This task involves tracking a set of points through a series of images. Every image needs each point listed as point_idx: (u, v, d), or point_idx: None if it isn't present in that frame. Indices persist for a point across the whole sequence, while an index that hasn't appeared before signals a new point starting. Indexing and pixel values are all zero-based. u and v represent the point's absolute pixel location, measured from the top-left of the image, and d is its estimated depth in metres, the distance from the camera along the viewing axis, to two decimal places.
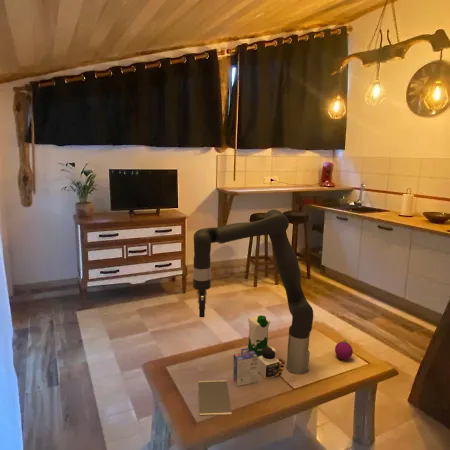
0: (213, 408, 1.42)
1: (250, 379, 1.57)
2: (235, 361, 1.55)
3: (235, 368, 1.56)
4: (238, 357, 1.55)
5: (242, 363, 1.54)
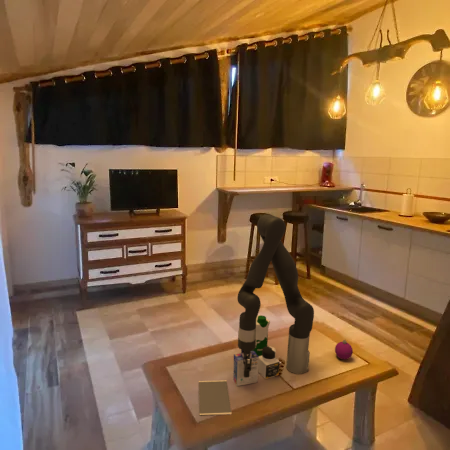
0: (213, 408, 1.42)
1: (250, 379, 1.57)
2: (235, 361, 1.55)
3: (235, 368, 1.56)
4: (238, 357, 1.55)
5: (242, 363, 1.54)
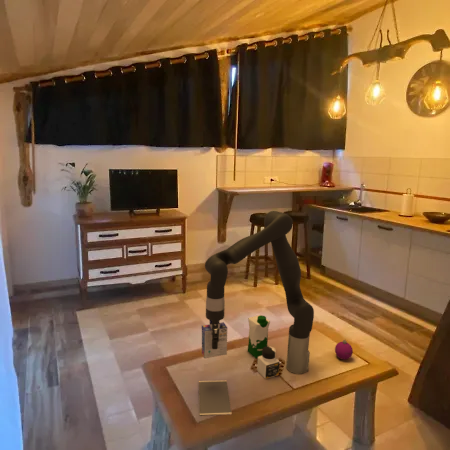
0: (213, 408, 1.42)
1: (218, 352, 1.49)
2: (203, 332, 1.48)
3: (203, 339, 1.48)
4: (206, 328, 1.48)
5: (210, 334, 1.47)
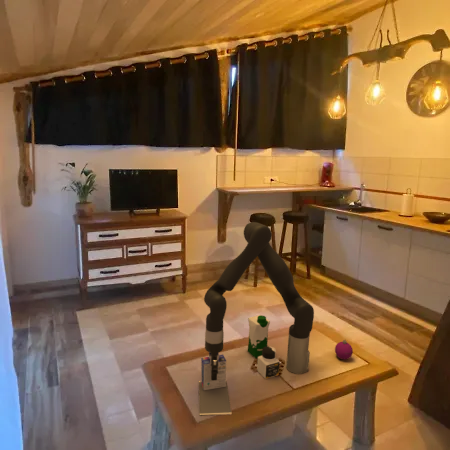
0: (213, 408, 1.42)
1: (217, 384, 1.53)
2: (202, 365, 1.51)
3: (202, 372, 1.52)
4: (205, 360, 1.51)
5: (209, 367, 1.50)
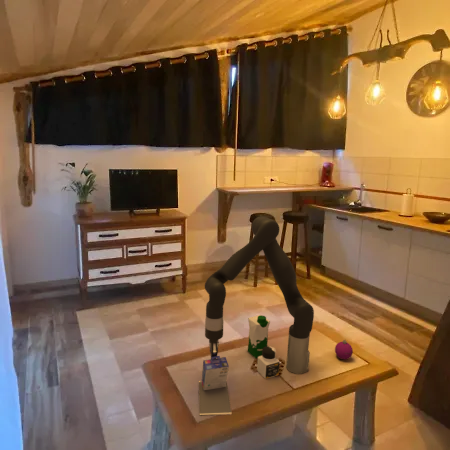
0: (213, 408, 1.42)
1: (218, 385, 1.52)
2: (204, 368, 1.49)
3: (203, 374, 1.50)
4: (207, 365, 1.48)
5: (210, 372, 1.47)
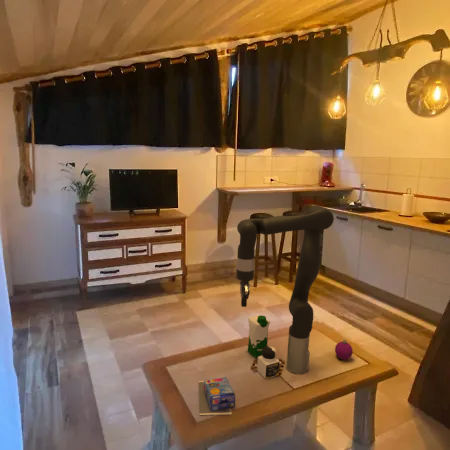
0: None
1: None
2: (209, 403, 1.41)
3: (207, 398, 1.44)
4: (214, 406, 1.40)
5: None
